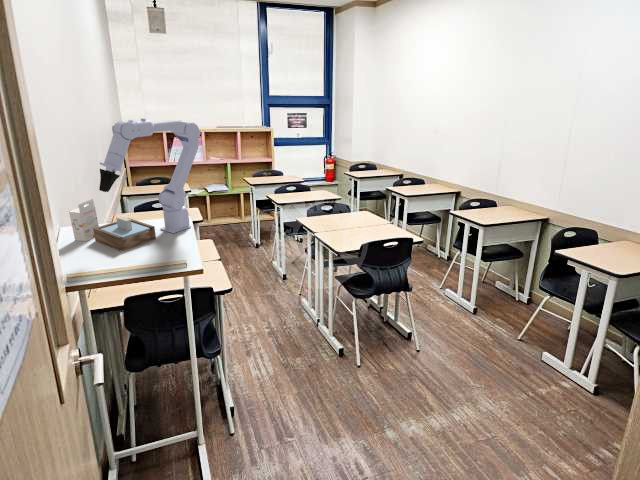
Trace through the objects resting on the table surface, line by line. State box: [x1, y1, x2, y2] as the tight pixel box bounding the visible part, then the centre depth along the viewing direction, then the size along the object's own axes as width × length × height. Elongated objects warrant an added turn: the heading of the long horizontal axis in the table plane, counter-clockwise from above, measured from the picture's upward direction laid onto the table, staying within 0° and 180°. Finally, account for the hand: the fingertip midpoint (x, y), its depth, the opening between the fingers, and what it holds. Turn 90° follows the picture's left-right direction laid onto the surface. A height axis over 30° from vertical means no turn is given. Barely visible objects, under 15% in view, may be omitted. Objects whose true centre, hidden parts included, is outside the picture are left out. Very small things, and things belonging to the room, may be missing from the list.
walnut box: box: [93, 217, 157, 252], centre depth 166 cm, size 15×16×5 cm
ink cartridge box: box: [68, 198, 100, 242], centre depth 166 cm, size 9×5×15 cm, turn 168°
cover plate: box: [101, 216, 150, 239], centre depth 164 cm, size 12×14×5 cm
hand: (103, 191), depth 152 cm, fingers open, 7 cm apart
